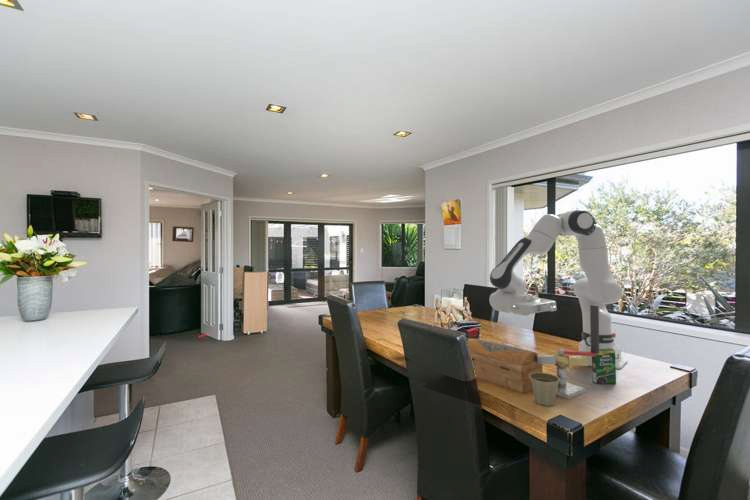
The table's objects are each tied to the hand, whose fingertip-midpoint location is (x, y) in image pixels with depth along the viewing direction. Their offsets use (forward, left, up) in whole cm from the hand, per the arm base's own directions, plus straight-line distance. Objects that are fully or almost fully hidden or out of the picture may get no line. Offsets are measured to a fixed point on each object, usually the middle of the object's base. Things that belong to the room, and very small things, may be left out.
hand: (554, 309), depth 140 cm
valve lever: (+4, +11, -15) cm, 19 cm away
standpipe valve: (+7, +7, -29) cm, 30 cm away
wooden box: (+15, -15, -29) cm, 36 cm away
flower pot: (+22, +9, -29) cm, 38 cm away
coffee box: (-14, +12, -29) cm, 34 cm away
